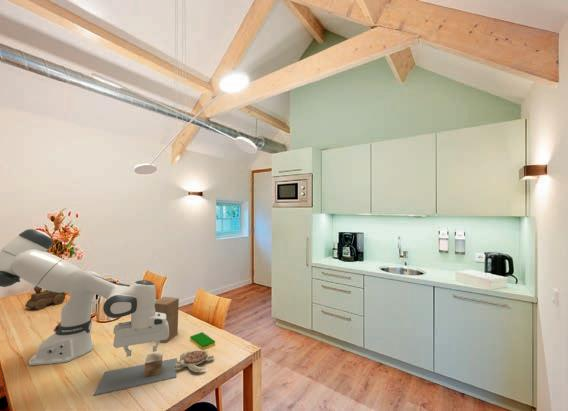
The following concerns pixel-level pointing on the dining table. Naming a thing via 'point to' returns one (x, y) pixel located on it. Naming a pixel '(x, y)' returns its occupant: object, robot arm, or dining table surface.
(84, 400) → the dining table surface
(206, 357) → the decorative turtle
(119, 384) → the mat
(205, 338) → the dish sponge
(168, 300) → the wooden block
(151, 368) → the letter cube
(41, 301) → the wooden toy train
